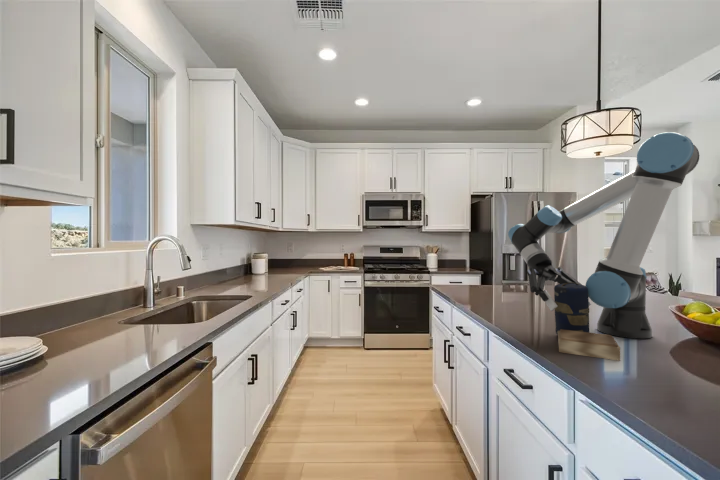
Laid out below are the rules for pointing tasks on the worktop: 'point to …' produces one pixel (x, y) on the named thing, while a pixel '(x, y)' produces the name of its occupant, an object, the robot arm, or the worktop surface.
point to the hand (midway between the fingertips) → (571, 307)
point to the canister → (571, 307)
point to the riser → (588, 344)
